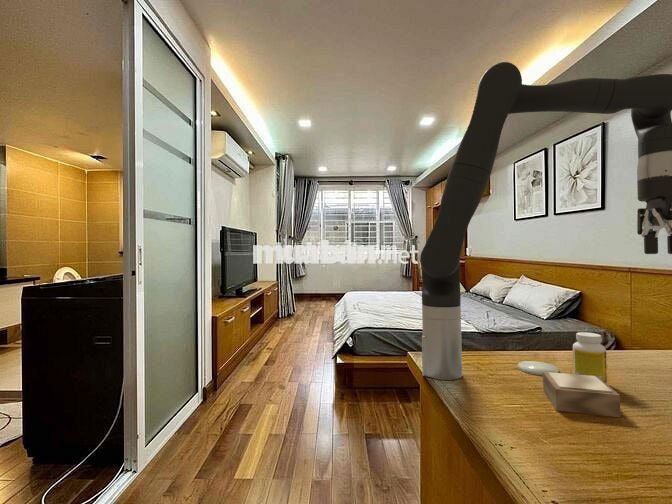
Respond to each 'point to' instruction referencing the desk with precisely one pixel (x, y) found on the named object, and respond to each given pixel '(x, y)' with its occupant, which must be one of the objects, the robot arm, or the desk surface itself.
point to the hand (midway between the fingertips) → (662, 254)
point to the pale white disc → (537, 367)
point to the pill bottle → (589, 356)
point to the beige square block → (581, 394)
